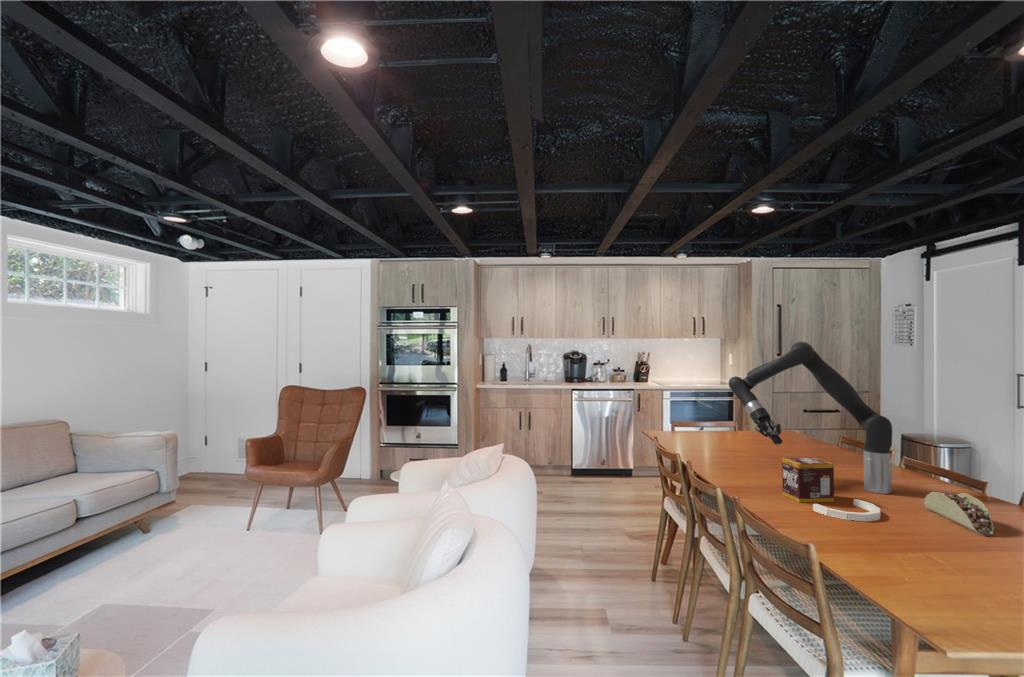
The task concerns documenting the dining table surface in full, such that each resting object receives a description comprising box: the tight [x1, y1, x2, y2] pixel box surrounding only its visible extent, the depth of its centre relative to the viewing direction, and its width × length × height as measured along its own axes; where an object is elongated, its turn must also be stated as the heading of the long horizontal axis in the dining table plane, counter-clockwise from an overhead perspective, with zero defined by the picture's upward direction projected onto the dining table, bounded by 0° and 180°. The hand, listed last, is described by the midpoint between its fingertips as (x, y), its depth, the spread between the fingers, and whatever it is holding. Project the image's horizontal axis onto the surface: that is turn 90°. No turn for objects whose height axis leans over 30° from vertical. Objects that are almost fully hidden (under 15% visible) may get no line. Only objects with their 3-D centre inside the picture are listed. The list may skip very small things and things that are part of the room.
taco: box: [923, 491, 995, 537], centre depth 168 cm, size 10×27×10 cm, turn 170°
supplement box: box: [781, 457, 835, 503], centre depth 194 cm, size 10×15×16 cm
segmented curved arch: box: [812, 498, 882, 523], centre depth 175 cm, size 23×14×2 cm, turn 107°
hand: (779, 443), depth 207 cm, fingers closed
